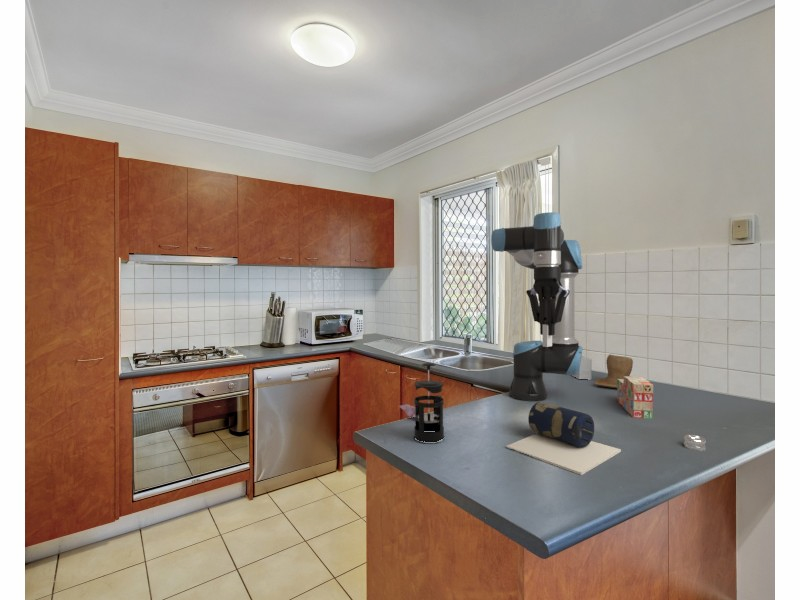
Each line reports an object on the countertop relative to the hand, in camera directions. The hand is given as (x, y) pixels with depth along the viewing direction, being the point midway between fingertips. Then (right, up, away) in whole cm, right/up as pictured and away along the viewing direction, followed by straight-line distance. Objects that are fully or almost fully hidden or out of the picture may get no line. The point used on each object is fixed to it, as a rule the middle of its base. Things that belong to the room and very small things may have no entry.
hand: (547, 346), depth 119 cm
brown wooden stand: (+55, -27, +64) cm, 89 cm away
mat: (+2, -29, -6) cm, 29 cm away
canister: (-1, -23, +7) cm, 24 cm away
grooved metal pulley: (+40, -28, -5) cm, 49 cm away
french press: (-34, -29, +4) cm, 45 cm away
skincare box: (+48, -26, +85) cm, 101 cm away
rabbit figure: (-39, -29, +24) cm, 54 cm away
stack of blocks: (+44, -28, +31) cm, 60 cm away
